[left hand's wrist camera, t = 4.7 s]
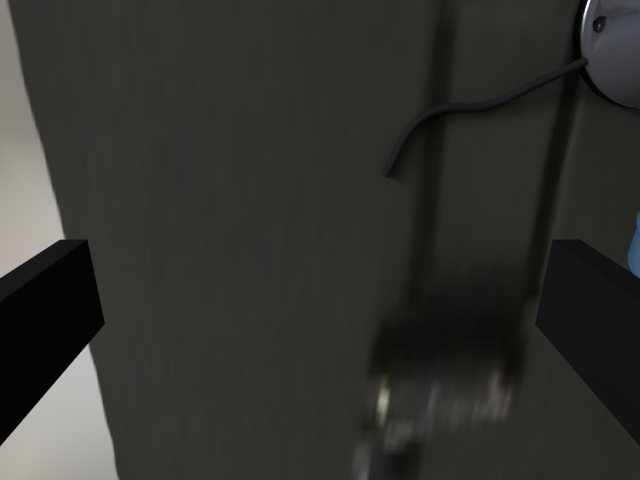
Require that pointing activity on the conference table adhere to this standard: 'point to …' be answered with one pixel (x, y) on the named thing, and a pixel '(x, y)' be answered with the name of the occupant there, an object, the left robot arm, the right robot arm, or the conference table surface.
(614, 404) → the left robot arm
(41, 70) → the conference table surface
